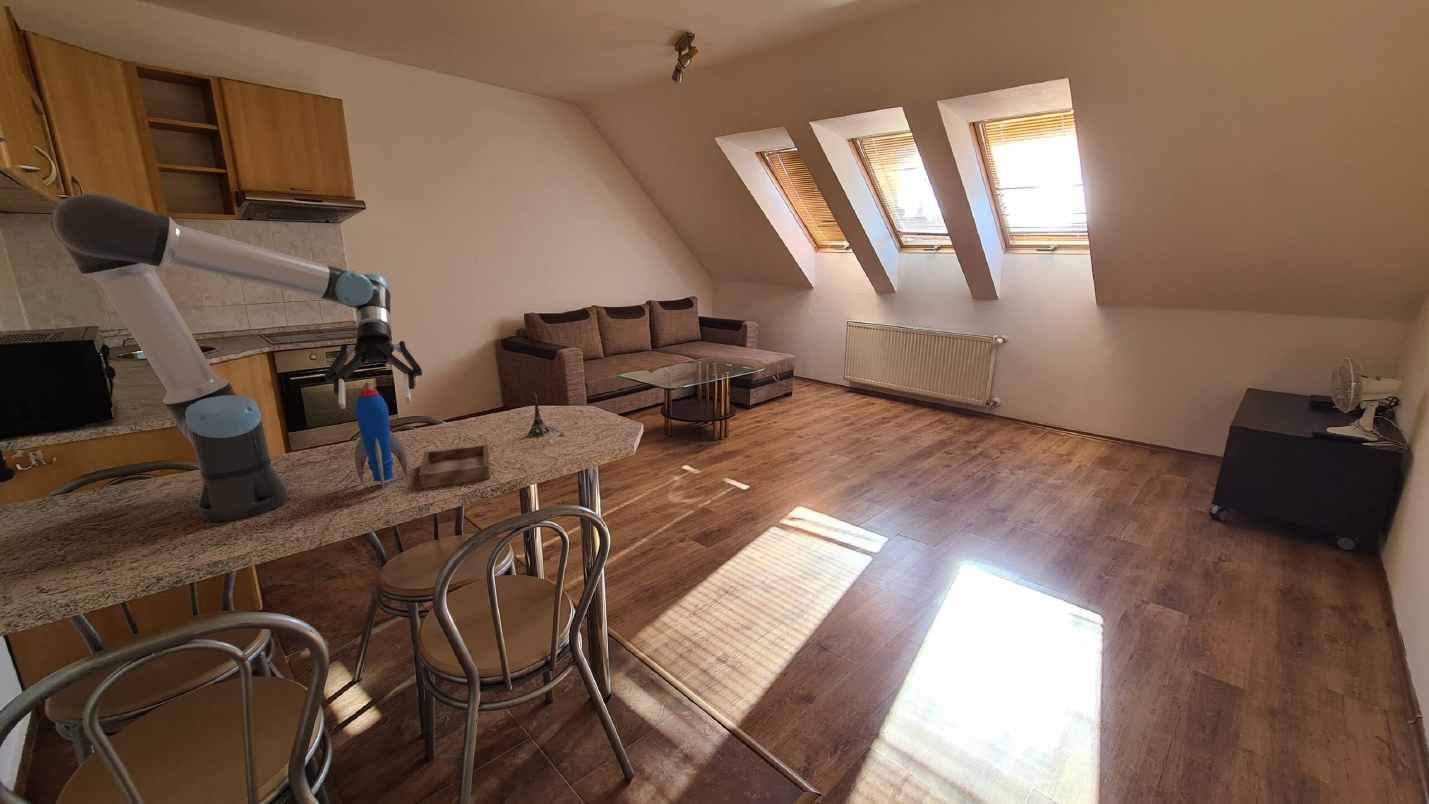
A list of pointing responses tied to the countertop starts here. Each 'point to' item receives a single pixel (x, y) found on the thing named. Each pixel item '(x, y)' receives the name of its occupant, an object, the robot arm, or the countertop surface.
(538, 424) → the eiffel tower figurine
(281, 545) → the countertop surface
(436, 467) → the cradle
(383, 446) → the toy rocket
